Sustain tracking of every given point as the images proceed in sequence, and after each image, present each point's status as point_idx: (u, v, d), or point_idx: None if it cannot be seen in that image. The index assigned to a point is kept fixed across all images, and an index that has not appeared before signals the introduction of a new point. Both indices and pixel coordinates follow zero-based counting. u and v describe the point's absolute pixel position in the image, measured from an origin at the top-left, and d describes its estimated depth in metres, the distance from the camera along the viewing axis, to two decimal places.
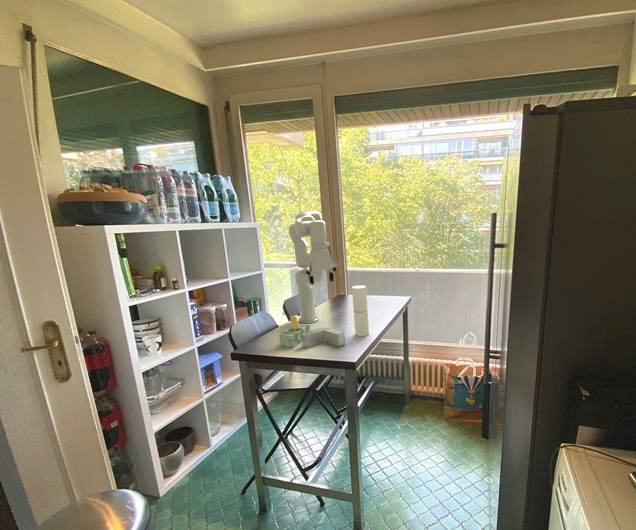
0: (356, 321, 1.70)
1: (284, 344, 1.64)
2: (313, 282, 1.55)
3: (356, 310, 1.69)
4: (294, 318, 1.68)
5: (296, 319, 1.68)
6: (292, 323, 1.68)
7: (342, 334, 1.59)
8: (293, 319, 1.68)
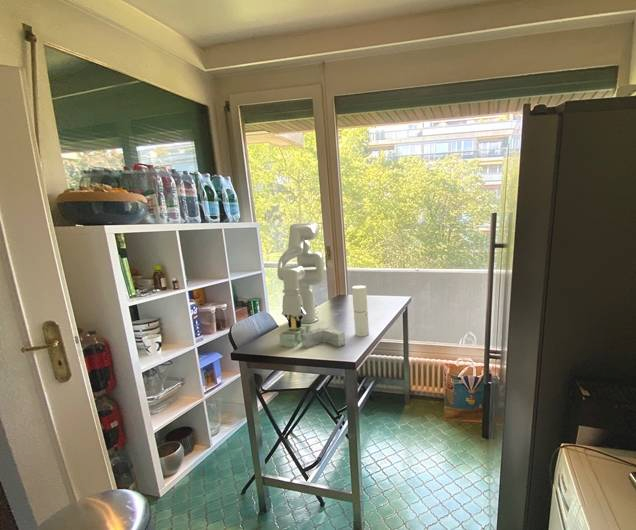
0: (356, 321, 1.70)
1: (284, 344, 1.64)
2: None
3: (356, 310, 1.69)
4: (294, 318, 1.68)
5: (296, 319, 1.68)
6: (292, 323, 1.68)
7: (342, 334, 1.59)
8: (293, 319, 1.68)
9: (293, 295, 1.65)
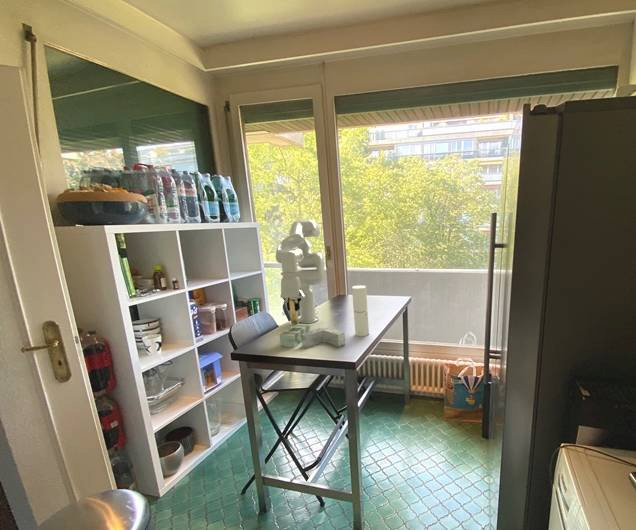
0: (356, 321, 1.70)
1: (284, 344, 1.64)
2: None
3: (356, 310, 1.69)
4: (293, 301, 1.67)
5: (295, 302, 1.68)
6: (291, 306, 1.68)
7: (342, 334, 1.59)
8: (292, 302, 1.67)
9: (291, 277, 1.64)
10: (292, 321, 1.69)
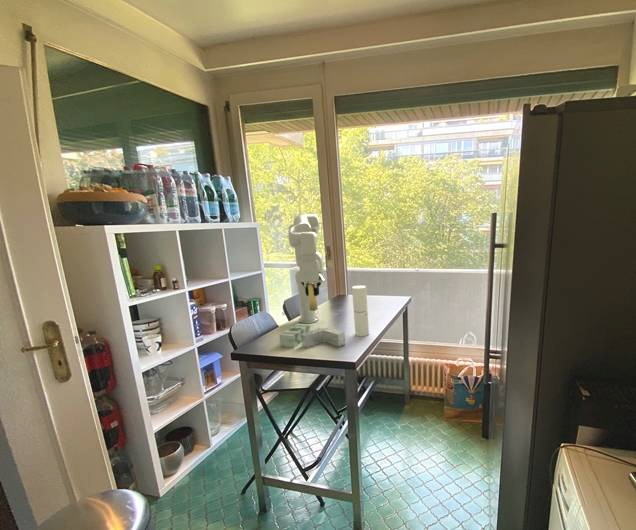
0: (356, 321, 1.70)
1: (284, 344, 1.64)
2: None
3: (356, 310, 1.69)
4: (312, 285, 1.59)
5: (314, 286, 1.60)
6: (309, 290, 1.60)
7: (342, 334, 1.59)
8: (310, 286, 1.59)
9: (311, 260, 1.56)
10: (311, 307, 1.61)
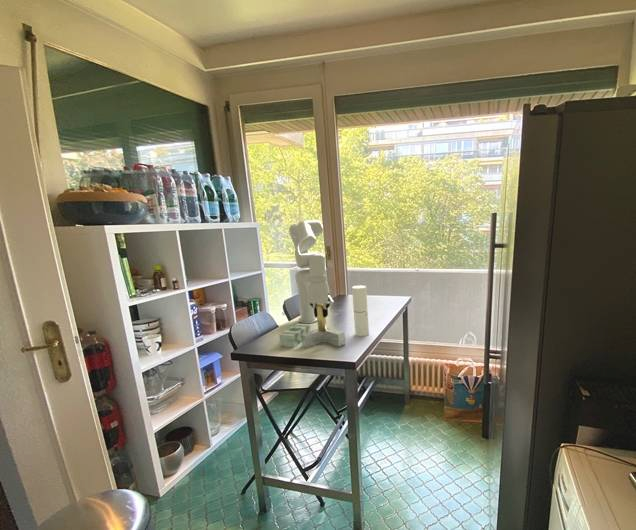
0: (356, 321, 1.70)
1: (284, 344, 1.64)
2: None
3: (356, 310, 1.69)
4: (321, 307, 1.58)
5: (323, 308, 1.59)
6: (318, 312, 1.59)
7: (342, 334, 1.59)
8: (319, 308, 1.58)
9: (320, 282, 1.55)
10: (320, 328, 1.60)
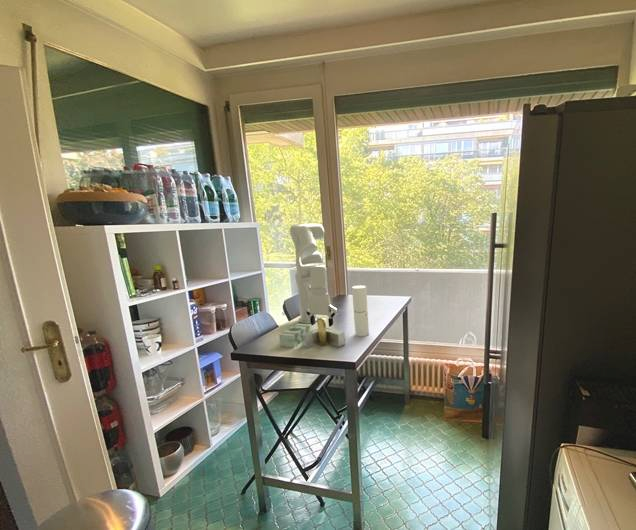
0: (356, 321, 1.70)
1: (284, 344, 1.64)
2: None
3: (356, 310, 1.69)
4: (322, 321, 1.59)
5: (324, 322, 1.60)
6: (319, 326, 1.60)
7: (342, 334, 1.59)
8: (321, 322, 1.59)
9: (321, 293, 1.56)
10: (321, 342, 1.61)
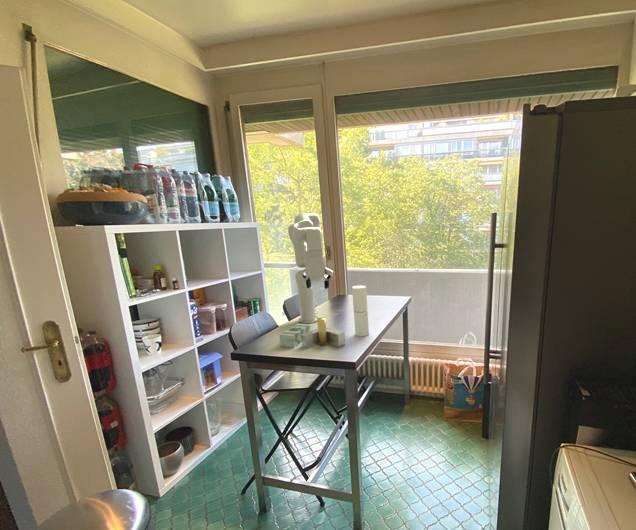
0: (356, 321, 1.70)
1: (284, 344, 1.64)
2: None
3: (356, 310, 1.69)
4: (322, 321, 1.59)
5: (324, 322, 1.60)
6: (319, 326, 1.60)
7: (342, 334, 1.59)
8: (321, 322, 1.59)
9: (317, 256, 1.57)
10: (321, 342, 1.61)
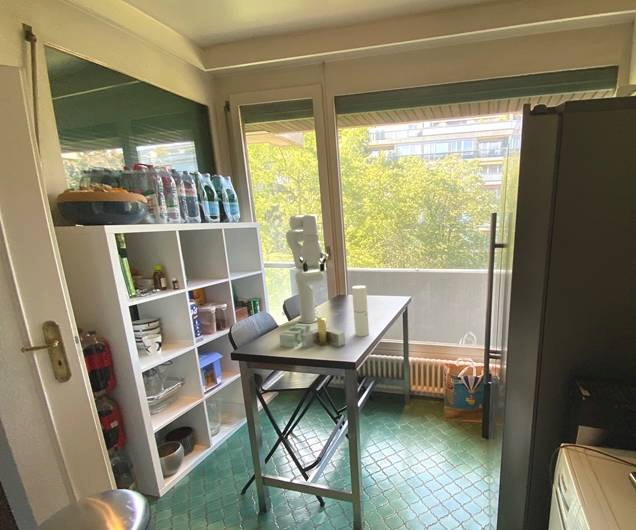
0: (356, 321, 1.70)
1: (284, 344, 1.64)
2: None
3: (356, 310, 1.69)
4: (322, 321, 1.59)
5: (324, 322, 1.60)
6: (319, 326, 1.60)
7: (342, 334, 1.59)
8: (321, 322, 1.59)
9: (313, 240, 1.68)
10: (321, 342, 1.61)
